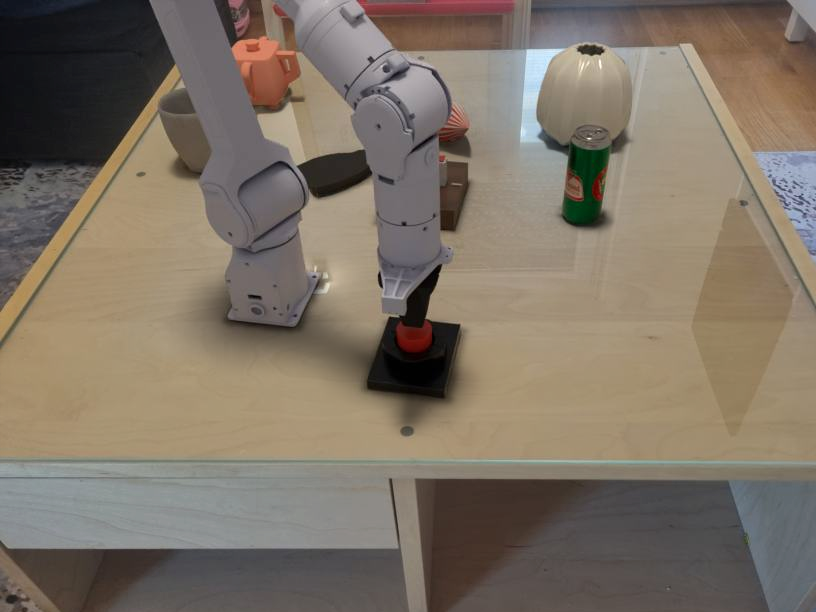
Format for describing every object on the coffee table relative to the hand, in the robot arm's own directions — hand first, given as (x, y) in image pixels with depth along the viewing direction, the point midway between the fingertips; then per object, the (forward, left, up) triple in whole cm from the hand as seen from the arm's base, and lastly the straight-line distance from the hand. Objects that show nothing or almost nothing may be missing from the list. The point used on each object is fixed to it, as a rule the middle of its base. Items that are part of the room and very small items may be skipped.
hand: (413, 322), depth 75 cm
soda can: (+30, -16, -5) cm, 34 cm away
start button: (0, 0, -2) cm, 2 cm away
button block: (0, 0, -5) cm, 5 cm away
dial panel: (+30, +5, -5) cm, 31 cm away
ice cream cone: (+50, +7, -5) cm, 51 cm away
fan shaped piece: (+35, +18, -5) cm, 40 cm away
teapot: (+56, +38, -5) cm, 68 cm away
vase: (+52, -15, -5) cm, 54 cm away
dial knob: (+30, +5, -2) cm, 30 cm away
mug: (+36, +39, -5) cm, 53 cm away
